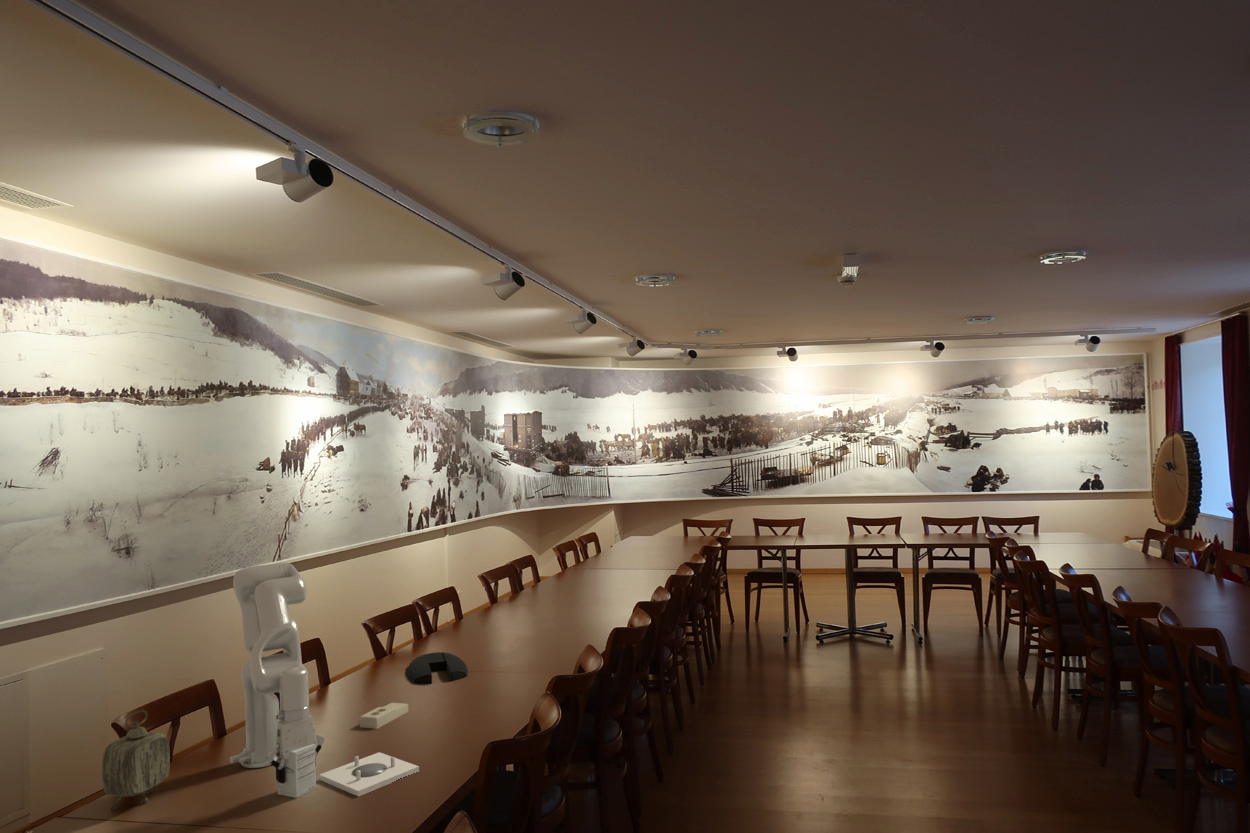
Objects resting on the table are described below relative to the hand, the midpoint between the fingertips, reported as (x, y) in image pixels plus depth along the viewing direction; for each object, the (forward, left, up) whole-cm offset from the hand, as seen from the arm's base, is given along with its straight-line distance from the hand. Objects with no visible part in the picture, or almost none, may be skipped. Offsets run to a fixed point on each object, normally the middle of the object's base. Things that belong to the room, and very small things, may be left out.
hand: (296, 776), depth 223 cm
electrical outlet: (+50, +32, -5) cm, 59 cm away
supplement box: (0, 0, -4) cm, 4 cm away
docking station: (+100, +67, -5) cm, 121 cm away
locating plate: (+18, -8, -4) cm, 20 cm away
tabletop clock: (-29, +31, -4) cm, 43 cm away
